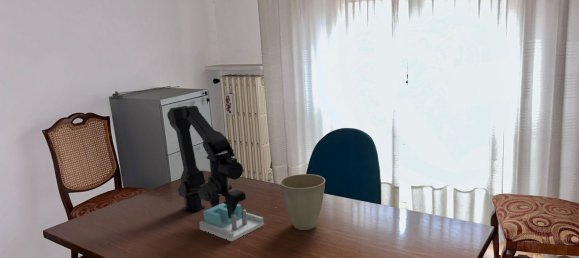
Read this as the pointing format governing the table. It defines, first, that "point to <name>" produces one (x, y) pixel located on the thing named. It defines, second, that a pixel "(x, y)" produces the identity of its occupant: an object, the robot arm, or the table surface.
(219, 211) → the teal notched block
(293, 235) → the table surface
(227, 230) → the board
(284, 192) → the plant pot
